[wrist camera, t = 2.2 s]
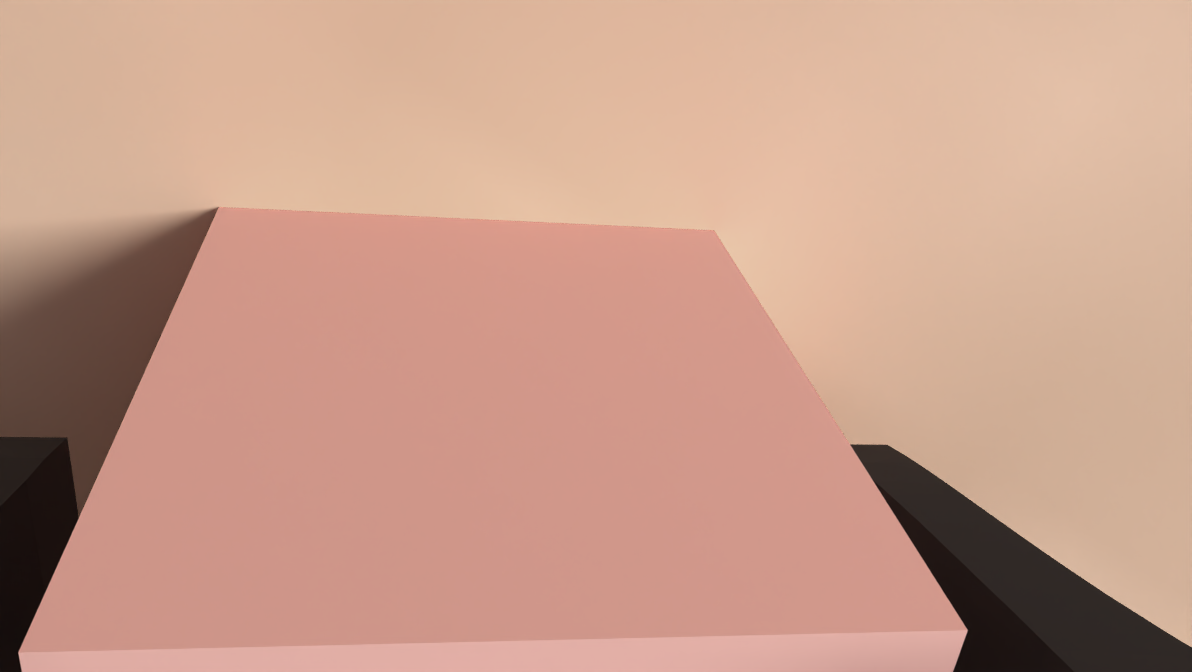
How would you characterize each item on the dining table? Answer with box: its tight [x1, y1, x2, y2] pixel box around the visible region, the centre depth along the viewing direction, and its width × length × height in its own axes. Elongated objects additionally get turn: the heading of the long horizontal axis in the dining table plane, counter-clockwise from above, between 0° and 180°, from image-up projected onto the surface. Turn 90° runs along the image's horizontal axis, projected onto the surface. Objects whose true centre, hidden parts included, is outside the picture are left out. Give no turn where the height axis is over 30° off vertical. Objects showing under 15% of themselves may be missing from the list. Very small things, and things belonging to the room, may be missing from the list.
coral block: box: [18, 207, 968, 672], centre depth 9 cm, size 5×5×6 cm
